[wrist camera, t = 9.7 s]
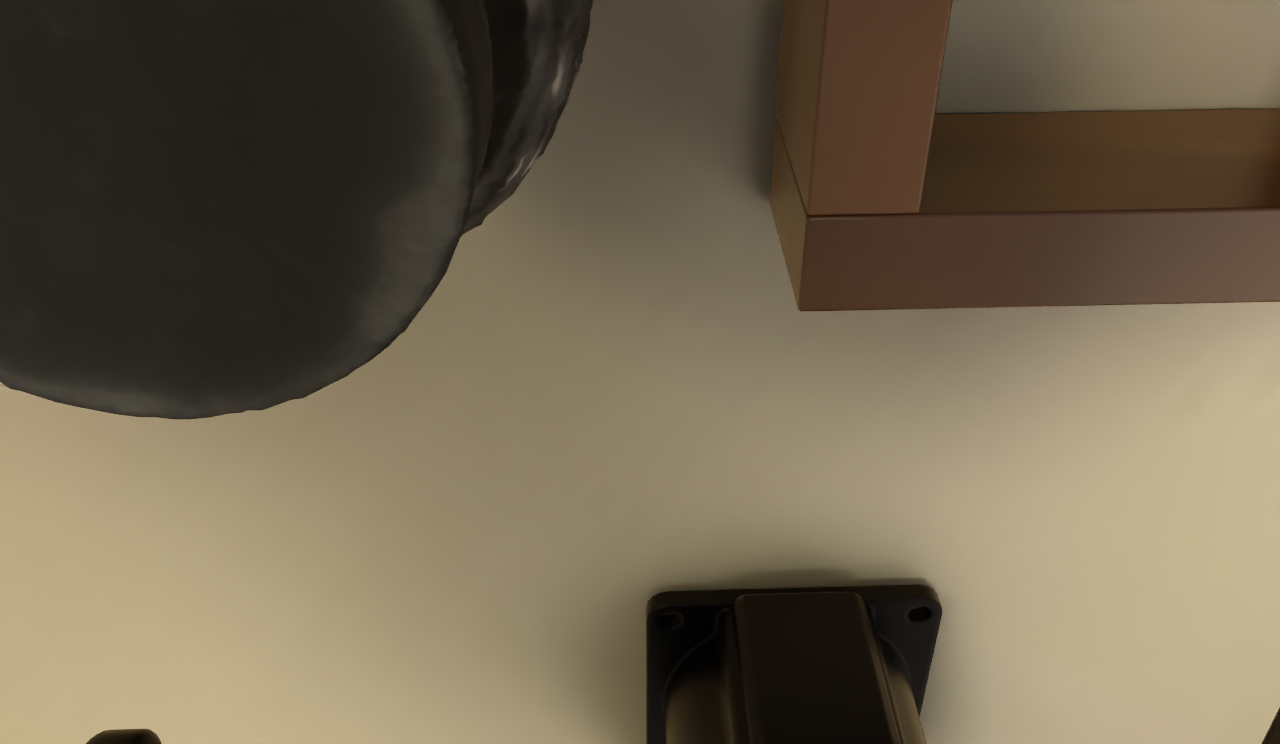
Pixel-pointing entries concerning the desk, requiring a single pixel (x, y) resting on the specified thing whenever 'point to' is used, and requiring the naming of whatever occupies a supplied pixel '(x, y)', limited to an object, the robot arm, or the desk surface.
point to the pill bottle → (251, 183)
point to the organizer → (1001, 184)
